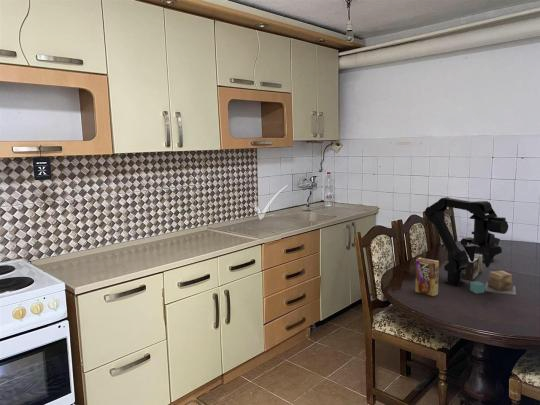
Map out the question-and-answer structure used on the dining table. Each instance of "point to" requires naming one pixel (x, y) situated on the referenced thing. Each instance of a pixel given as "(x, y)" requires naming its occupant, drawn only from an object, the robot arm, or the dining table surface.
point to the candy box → (427, 276)
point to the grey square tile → (510, 292)
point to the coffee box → (473, 267)
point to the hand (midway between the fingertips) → (479, 264)
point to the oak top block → (500, 276)
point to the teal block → (477, 287)
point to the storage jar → (481, 251)
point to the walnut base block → (500, 285)
